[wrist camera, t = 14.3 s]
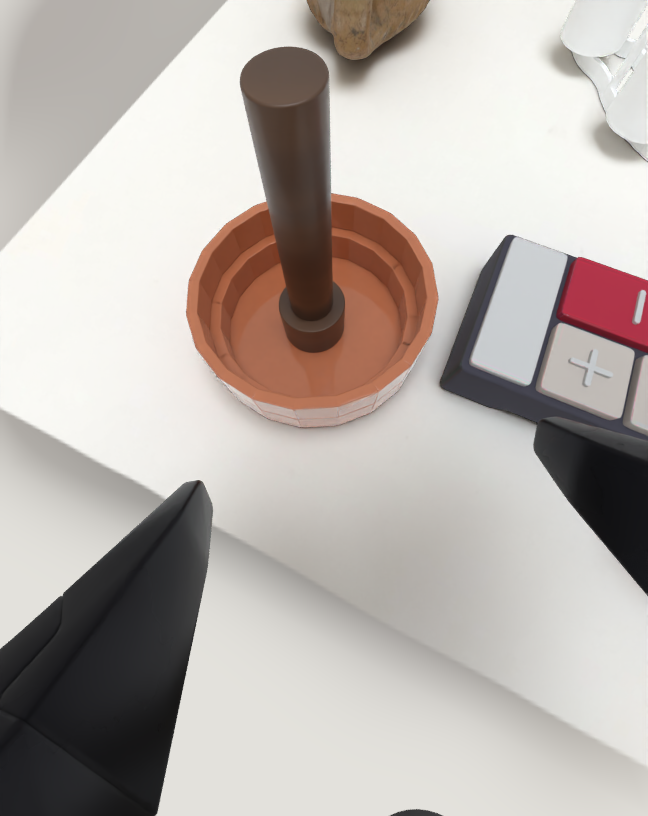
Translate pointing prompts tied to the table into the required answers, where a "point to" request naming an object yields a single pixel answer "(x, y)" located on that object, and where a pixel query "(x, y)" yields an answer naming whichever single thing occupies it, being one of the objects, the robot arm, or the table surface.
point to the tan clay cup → (364, 22)
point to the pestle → (297, 186)
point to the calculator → (555, 340)
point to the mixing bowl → (363, 324)
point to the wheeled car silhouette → (608, 34)
